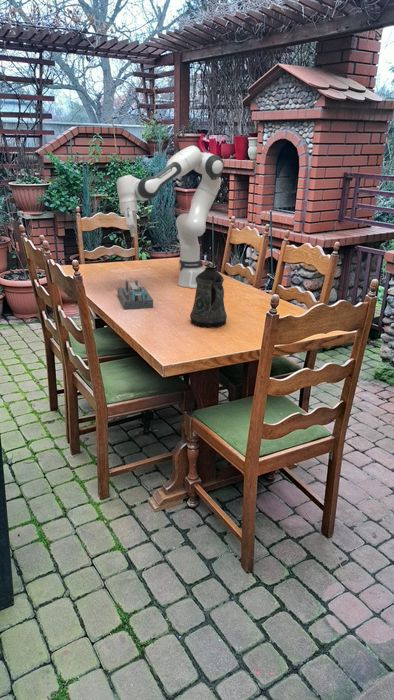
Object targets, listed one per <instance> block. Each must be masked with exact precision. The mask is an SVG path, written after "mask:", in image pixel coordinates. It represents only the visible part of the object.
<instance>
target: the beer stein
mask: <svg viewBox="0 0 394 700" xmlns="http://www.w3.org/2000/svg"><path fill="white" fill-rule="evenodd" d="M204 268H205V270H204V271H203V272H201V273H200V274H199V275H197V277H196V283H197V288H195V289H196V290H195V293H194V294H195V295H194V302H193V307H192V310H191V312H190V314H189V315H190V316H189V318H190V321H191V324H192V325H193V324H194V325H193V326H195V325H196V326H195V327H198V326H199V327H198V328H204V327H206V329H212V328H211V327H216V328H220V327H223V326H224V325H225V324H226V321H227V317H228V315H227V313H226V309H225V308H226V307H225V301H224V297H225V288H224V286H223V283H224V280H225V279H224V277H223V276H222V275H221V273H220V272H218V270H217V268H216V267H213V266H208V267H207V266H206V267H204ZM222 325H223V326H222ZM219 326H220V327H219ZM209 327H210V328H209Z"/></svg>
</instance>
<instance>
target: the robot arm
mask: <svg viewBox="0 0 394 700" xmlns="http://www.w3.org/2000/svg"><path fill="white" fill-rule="evenodd" d="M224 165H225V164H224V160H223V159H222V158H221V156H219V155H217V154H213V153H210V152H202V151H201V150H200V148H199V147H198V146H196V145H189V146H187V147H185V148H183V149H181V150H179V151H178V152H177V153H175V154H174V155H171V157H170V158H169V159H168V160H167V162H166V166H165V168H163V169H161V170H160V171H159V172H158V173H155V174H154V175H151V176H145V177H143V178H142V179H139V178H137V177H135V176H133V175H132V174H130V173H128V174H125V175H121V176H119V177H118V178H117V180H116V190H117V196H118V201H119V202H118V203H119V211H120V214H123V217H125V225H126V228H129V232H130V237H132V238H135V237H136V233H135V231H136V230H135V229H136V228H137V213H138V212H139V208H138V201H139V202H140V201H141V202H142V201H143V202H145V201H148V200H150V199H154V198H155V197H157V195H158V194H159V192H160V190H161V189H162V187H164V186H165V185H166V184H168V183H169V182H170V181H172V180H173V179H180V178H181V177H183V176H185V175H186V174H189V173H190V172H191V171H192V170H193V172H195V173H198V174H200V175H201V180H200V182H199V184H198V186H197V188H196V190H195V192H194V195H192V198H191V200H190V208H189V212H188V213H181V214H179V215H178V216H177V217H176V221H175V225H176V228H177V234H178V241H179V248H180V250H179V261H178V269H179V273H178V279H177V283H176V285H177V286H179V287H183V288H190V289H196V288H197V283H196V277H197V275H199V274H200V273H201V272H203V271H204V270H205V268H206V267H204V266H205V265H207V264H206V261H203V260H201V259H200V257H201V246H200V243H199V238H198V237H202V236H203V235H204V233H205V232H206V228H207V224H206V222H207V219H208V215H209V212H210V210H211V208H212V205H213V203H214V201H215V199H216V197H217V195H218V194H219V193H218V192H219V190H220V187H221V185H222V178H221V176H222V174H223V172H224V167H225V166H224Z"/></svg>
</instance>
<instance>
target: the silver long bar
mask: <svg viewBox="0 0 394 700" xmlns="http://www.w3.org/2000/svg"><path fill="white" fill-rule="evenodd" d="M128 287H131V289H132V290H134V292H141V291H140V289H138V287H139V286H138V287H137V285H136V284H135V281H128ZM135 295H141V294H135Z"/></svg>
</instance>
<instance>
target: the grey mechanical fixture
mask: <svg viewBox="0 0 394 700" xmlns="http://www.w3.org/2000/svg"><path fill="white" fill-rule="evenodd" d="M128 282H129V280H128V279H125V280H124V285H125V287H117V297H118V299H119V301H120V303H121V305H122V307H123V310H140V309H154V299H153V298H152V296H151V295H150V293H149V292H148V291H147V289H146V287H145V286H139V285H138V282H139V281H138V279H134V282H135V284H136V285H137V287H138V289H140V291H141V292H134V290H132V289H131V287H130V286H129V284H128ZM135 294H141V295H135Z"/></svg>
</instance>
